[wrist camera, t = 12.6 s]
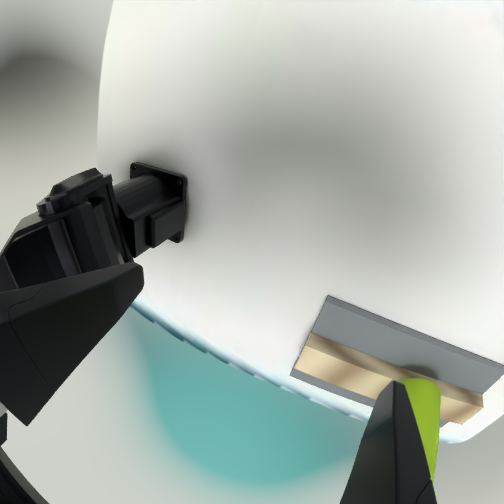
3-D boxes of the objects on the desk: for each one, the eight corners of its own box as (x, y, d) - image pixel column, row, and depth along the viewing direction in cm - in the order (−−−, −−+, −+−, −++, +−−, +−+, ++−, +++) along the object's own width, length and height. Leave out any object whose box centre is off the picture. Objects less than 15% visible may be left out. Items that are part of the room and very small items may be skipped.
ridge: (299, 355, 26) (294, 368, 24) (311, 332, 24) (305, 345, 23) (461, 411, 20) (461, 424, 19) (482, 394, 19) (483, 407, 17)
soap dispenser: (410, 423, 22) (354, 601, 6) (367, 396, 22) (286, 598, 7) (457, 399, 18) (414, 606, 2) (416, 368, 19) (346, 616, 3)
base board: (292, 369, 29) (289, 375, 28) (328, 295, 22) (326, 301, 22) (441, 421, 23) (441, 427, 23) (504, 365, 17) (505, 371, 16)
